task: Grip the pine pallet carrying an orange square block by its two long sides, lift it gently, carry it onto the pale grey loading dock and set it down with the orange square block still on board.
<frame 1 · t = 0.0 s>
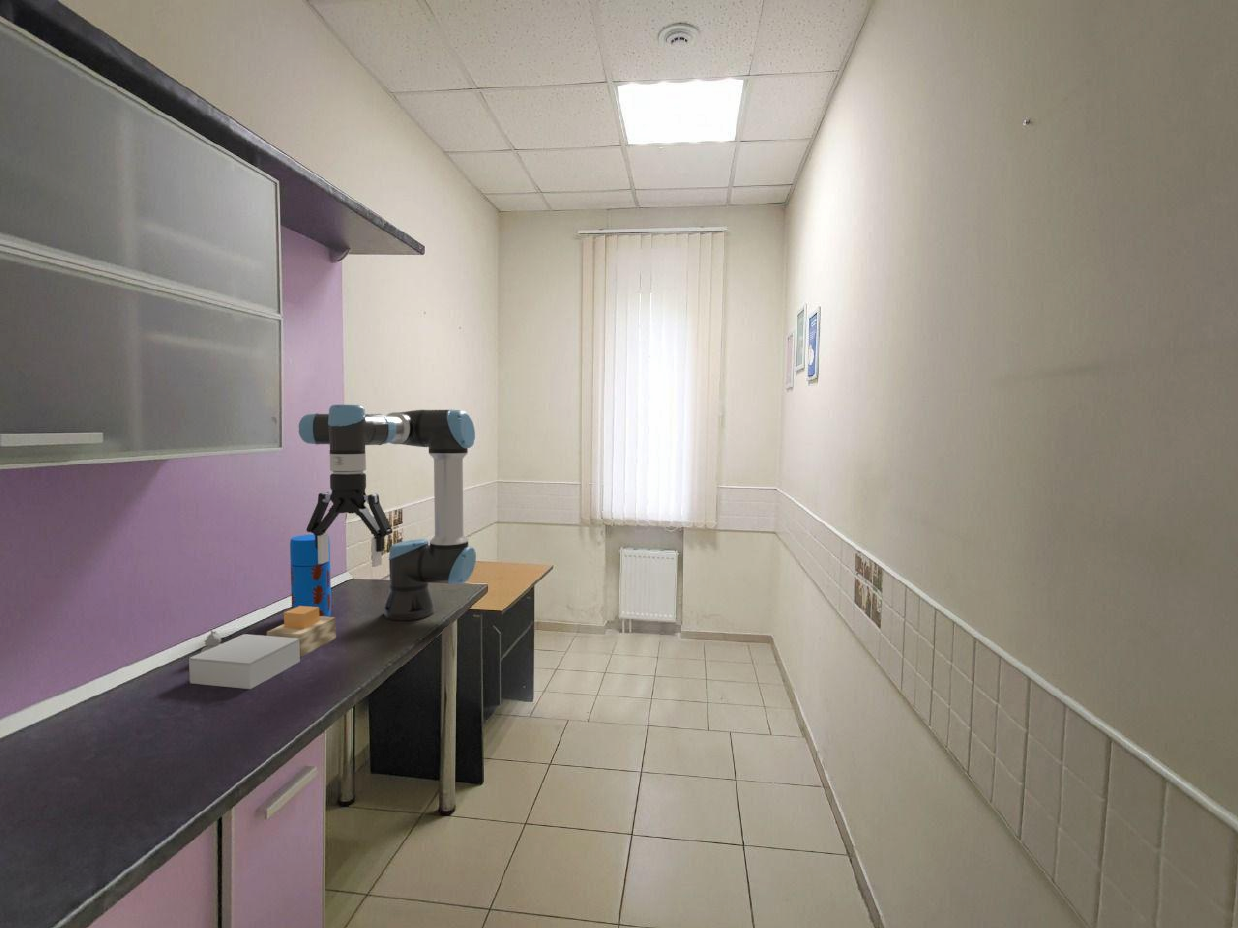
hand: (350, 564, 137), 28 cm above the worktop, tool pointing down, fingers open, 13 cm apart
dock: (247, 671, 144), on the worktop
pallet: (302, 645, 162), on the worktop, touching orange square block
white lumpy piece: (216, 660, 152), on the worktop
thermos: (312, 617, 186), on the worktop
orange square block: (302, 624, 161), point 6 cm above the worktop, touching pallet
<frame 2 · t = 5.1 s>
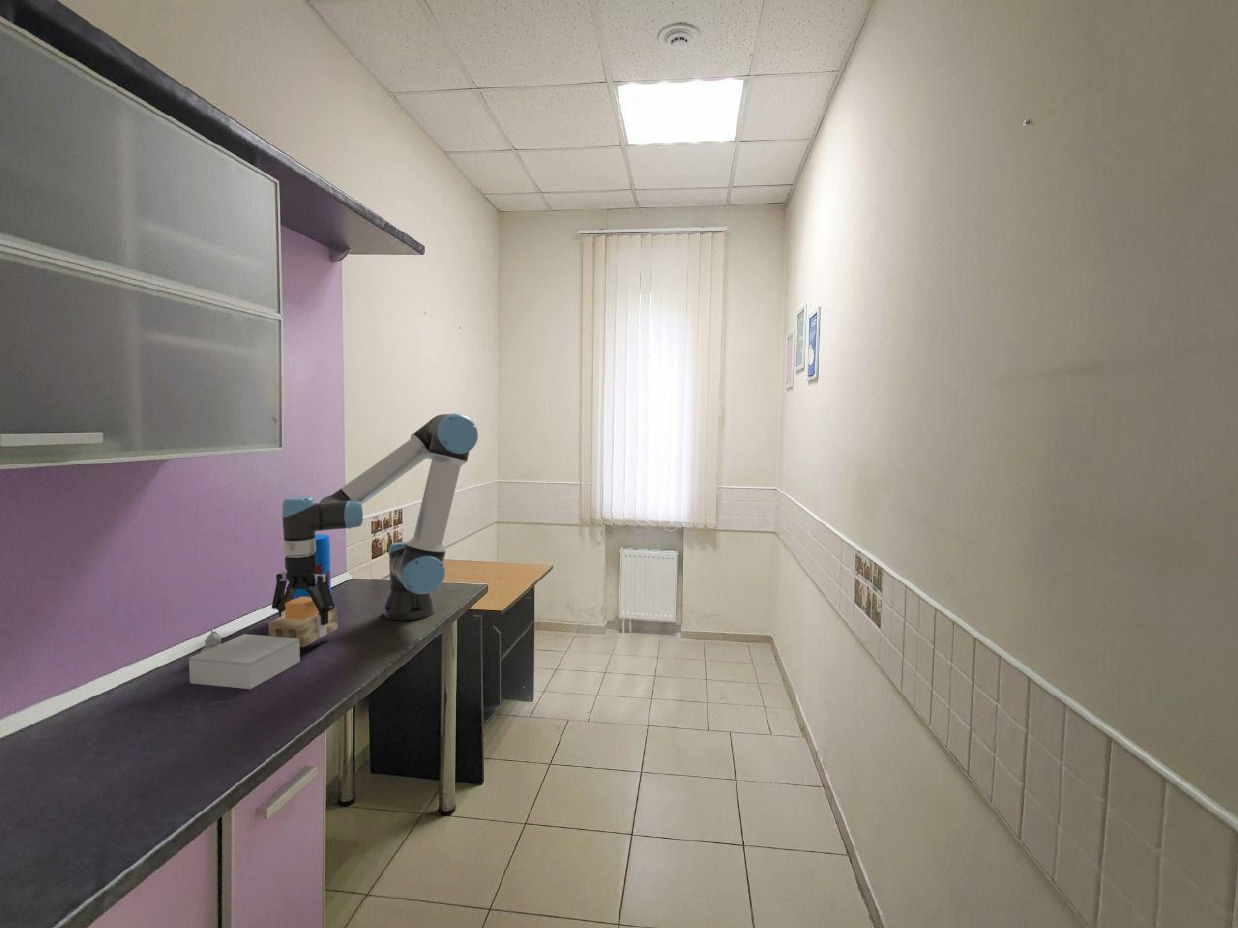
hand: (304, 634, 162), 3 cm above the worktop, tool pointing down, fingers closed on pallet, 10 cm apart
pallet: (304, 636, 162), point 2 cm above the worktop, touching orange square block, gripper
orange square block: (303, 614, 162), point 8 cm above the worktop, touching pallet
everything else where it was.
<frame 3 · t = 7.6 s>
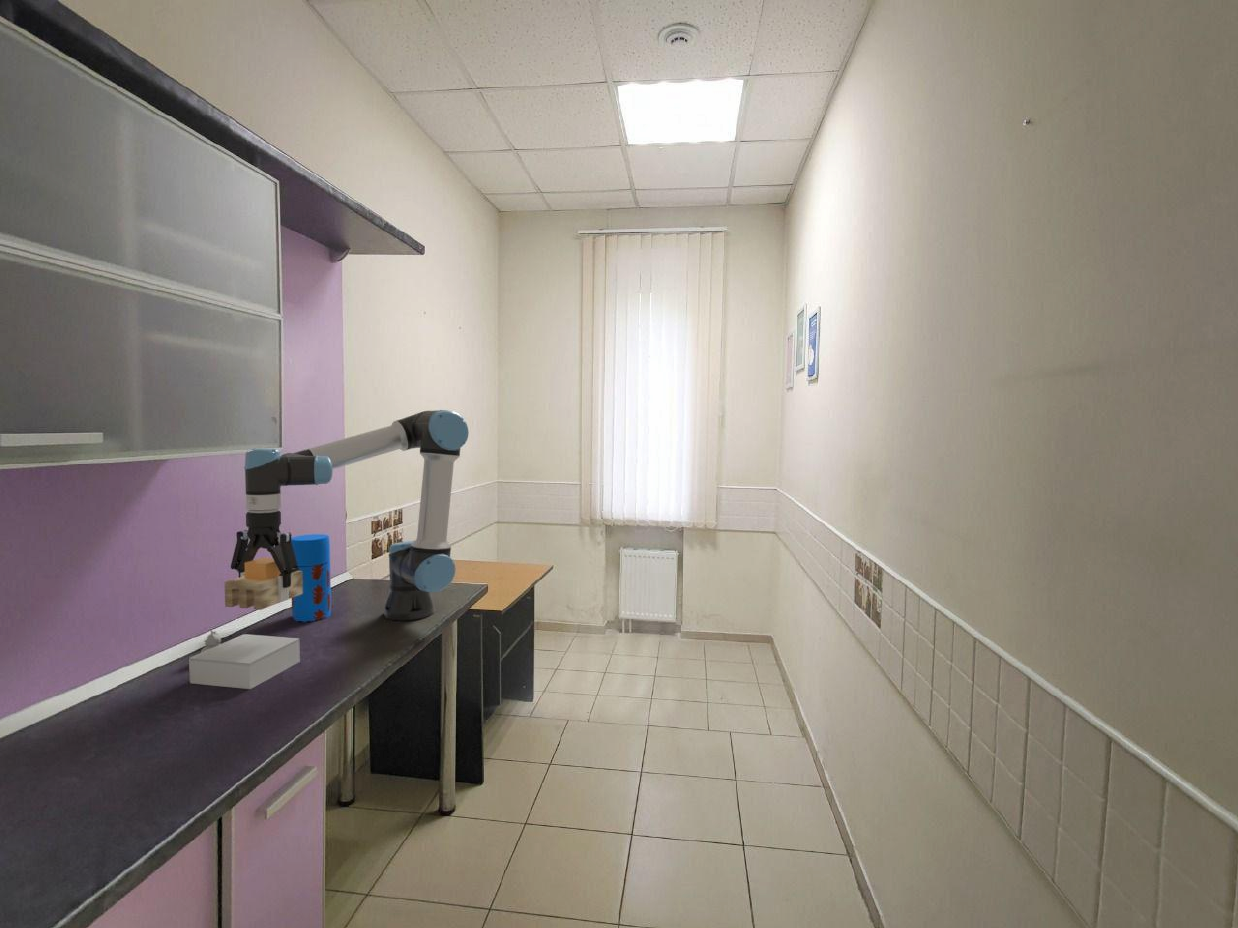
hand: (265, 598, 149), 16 cm above the worktop, tool pointing down, fingers closed on pallet, 10 cm apart
pallet: (265, 599, 150), point 16 cm above the worktop, touching orange square block, gripper
orange square block: (264, 576, 149), point 22 cm above the worktop, touching pallet
everything else where it was.
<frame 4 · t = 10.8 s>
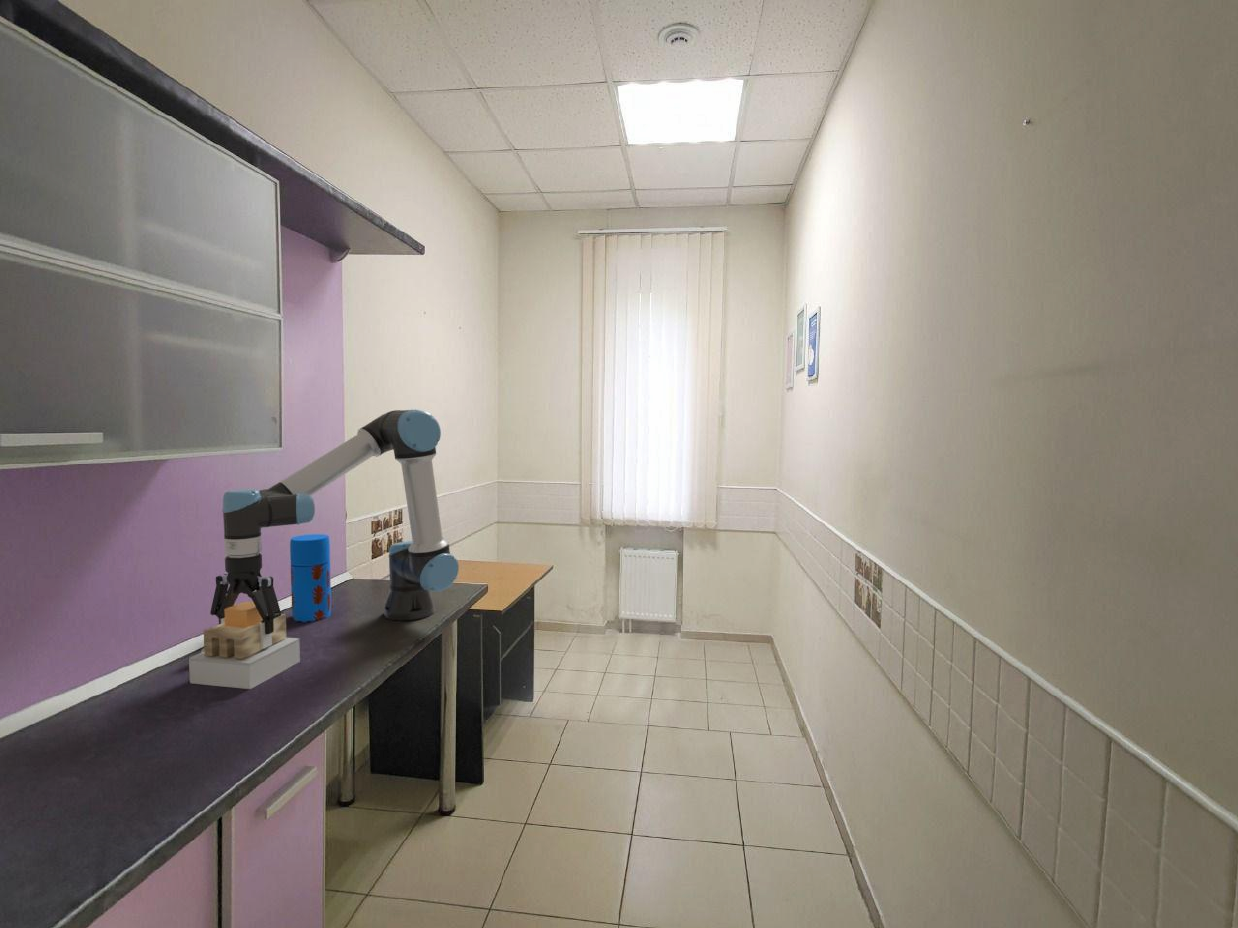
hand: (246, 645, 144), 7 cm above the worktop, tool pointing down, fingers closed on pallet, 10 cm apart
pallet: (247, 646, 144), point 6 cm above the worktop, touching orange square block, gripper
orange square block: (246, 622, 144), point 12 cm above the worktop, touching pallet
everything else where it was.
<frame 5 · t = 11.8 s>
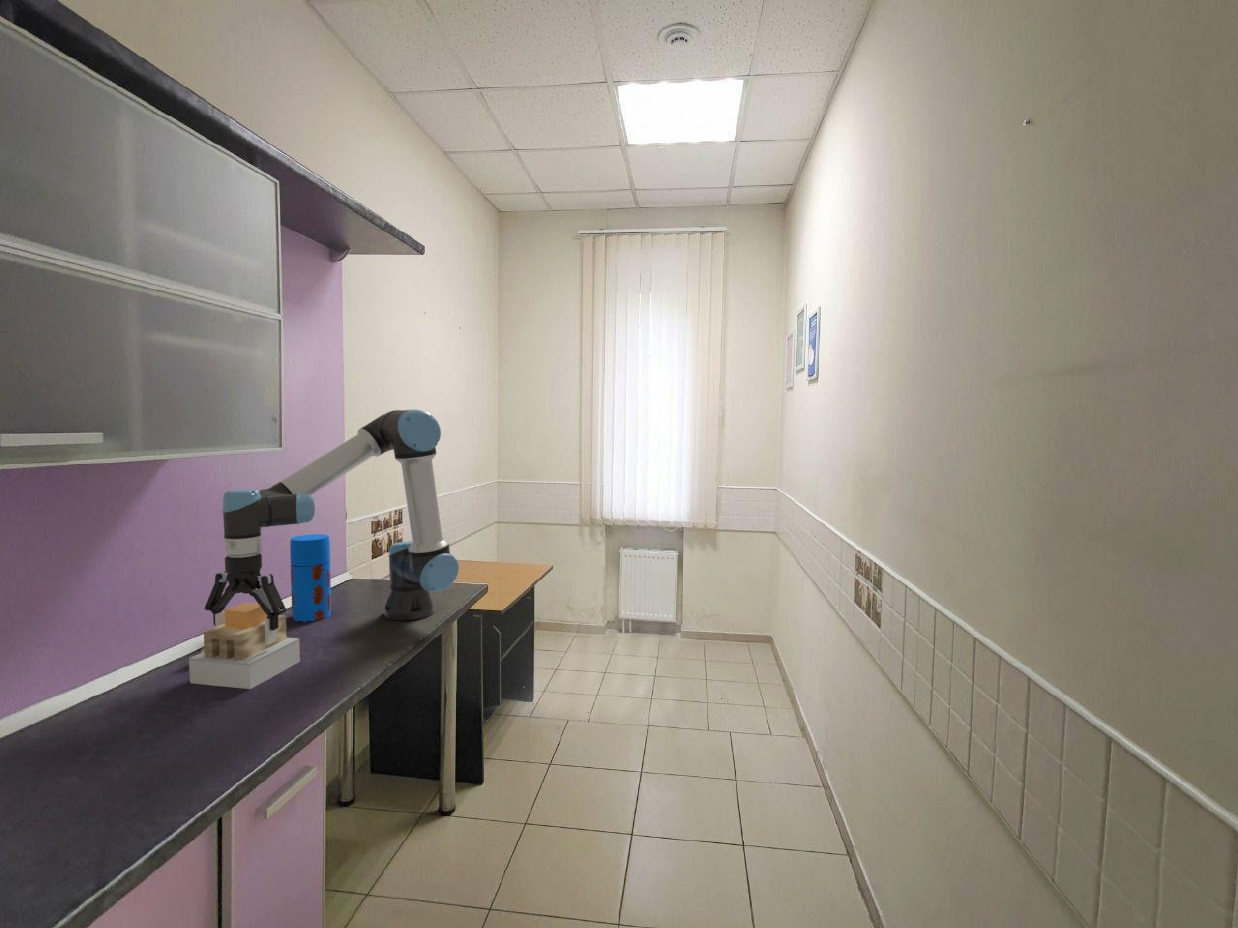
hand: (246, 640, 144), 8 cm above the worktop, tool pointing down, fingers open, 13 cm apart
pallet: (247, 647, 144), point 6 cm above the worktop, touching orange square block, dock
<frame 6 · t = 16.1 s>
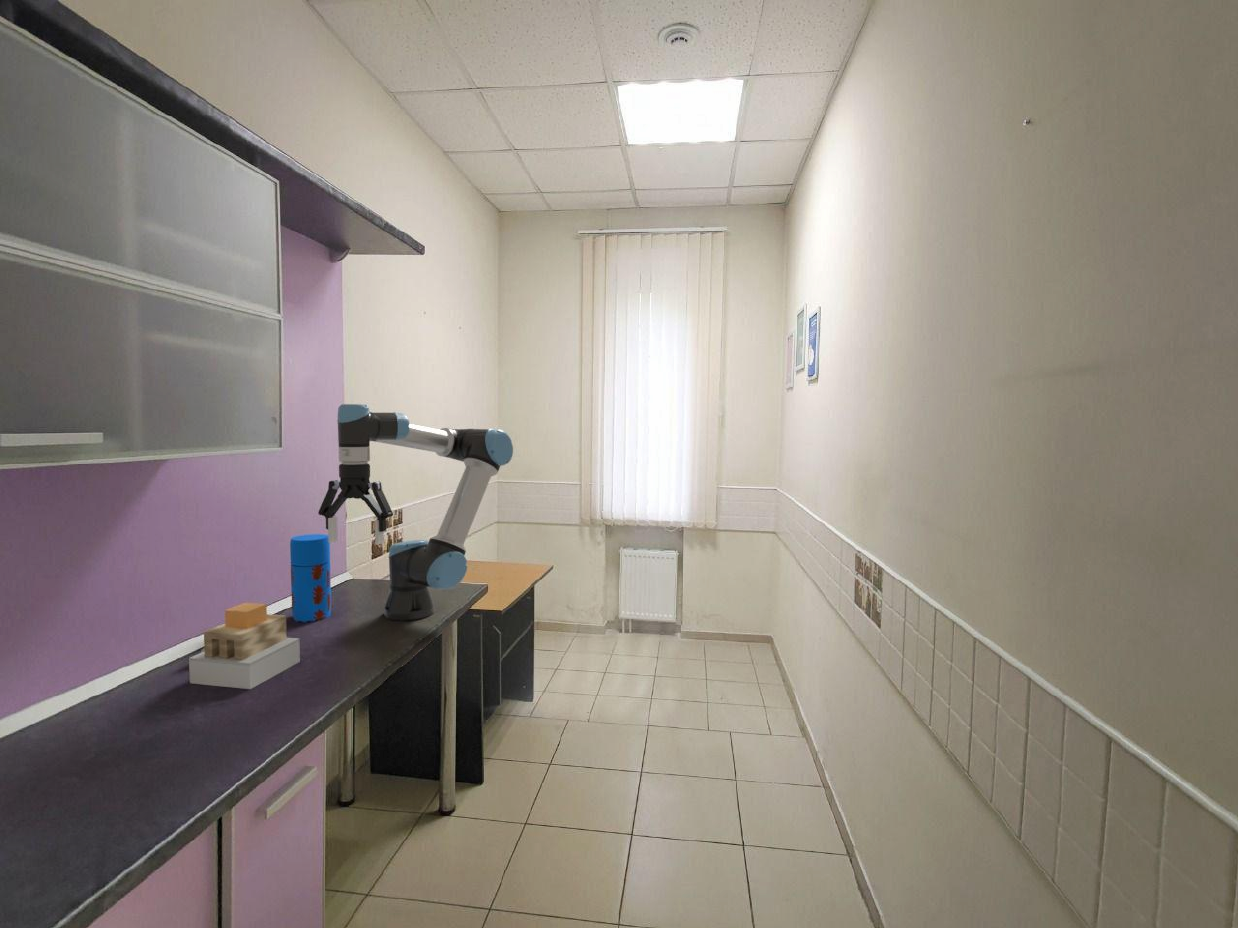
hand: (356, 542, 158), 29 cm above the worktop, tool pointing down, fingers open, 13 cm apart
nothing on the worktop moved.
at the end: pallet inside the target area on the dock (0.2 cm from its centre), point 6.0 cm above the dock's base; orange square block 0.1 cm from the pallet (horizontally); orange square block point 12.0 cm above the worktop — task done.
